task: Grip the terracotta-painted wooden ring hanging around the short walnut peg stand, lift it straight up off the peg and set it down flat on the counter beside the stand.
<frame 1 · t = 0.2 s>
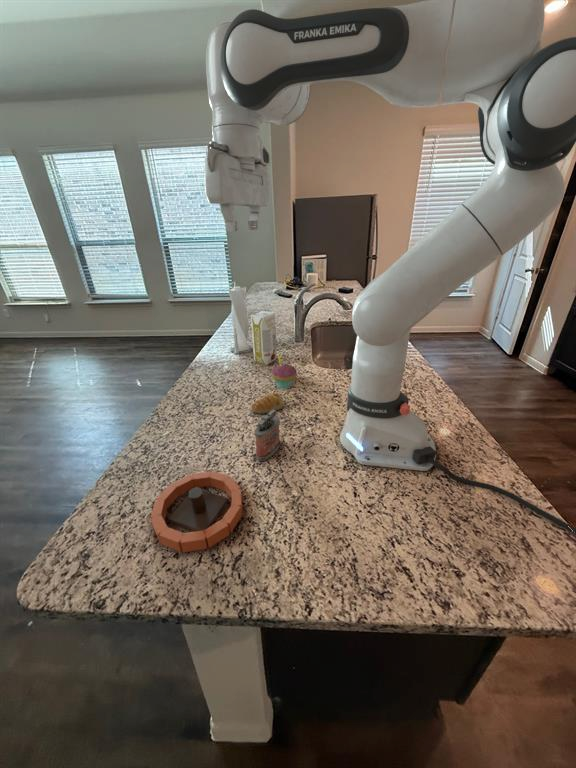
hand: (243, 230, 66), 48 cm above the countertop, tool pointing down, fingers open, 8 cm apart
pastry: (269, 408, 93), on the countertop
ring: (199, 511, 60), on the countertop
skyscraper: (242, 349, 136), on the countertop
cupcake: (284, 385, 106), on the countertop
juice carton: (265, 361, 125), on the countertop
peg stand: (199, 511, 60), on the countertop
lighter: (268, 451, 75), on the countertop
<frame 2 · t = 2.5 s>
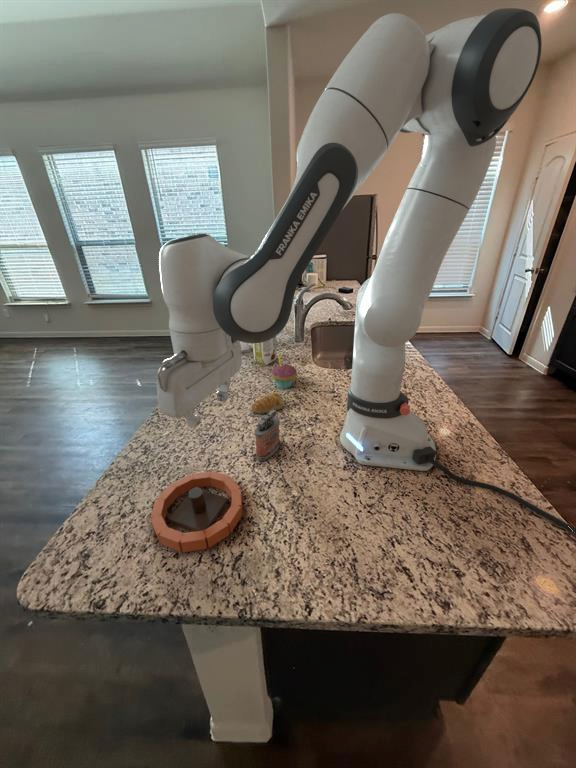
hand: (209, 411, 58), 18 cm above the countertop, tool pointing down, fingers open, 8 cm apart
nothing on the countertop moved.
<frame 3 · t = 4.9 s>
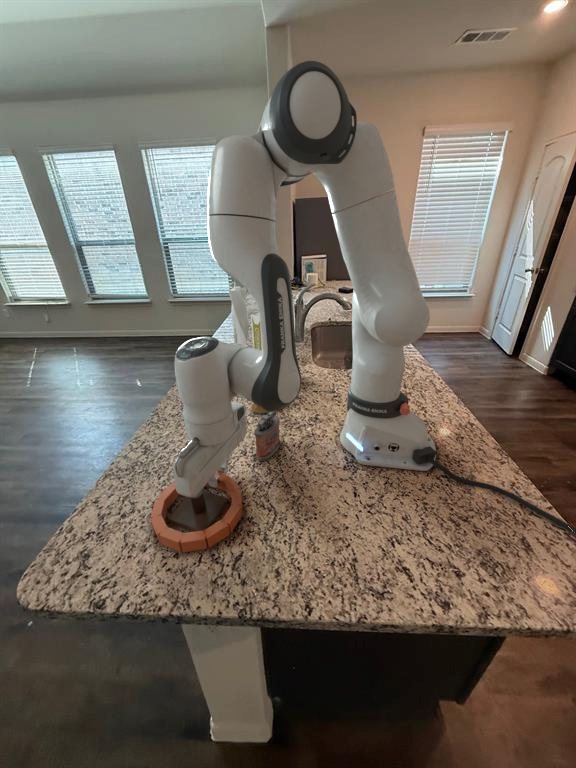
hand: (219, 479, 65), 2 cm above the countertop, tool pointing down, fingers closed on ring, 2 cm apart
ring: (199, 511, 60), on the countertop, touching gripper
everything else where it was.
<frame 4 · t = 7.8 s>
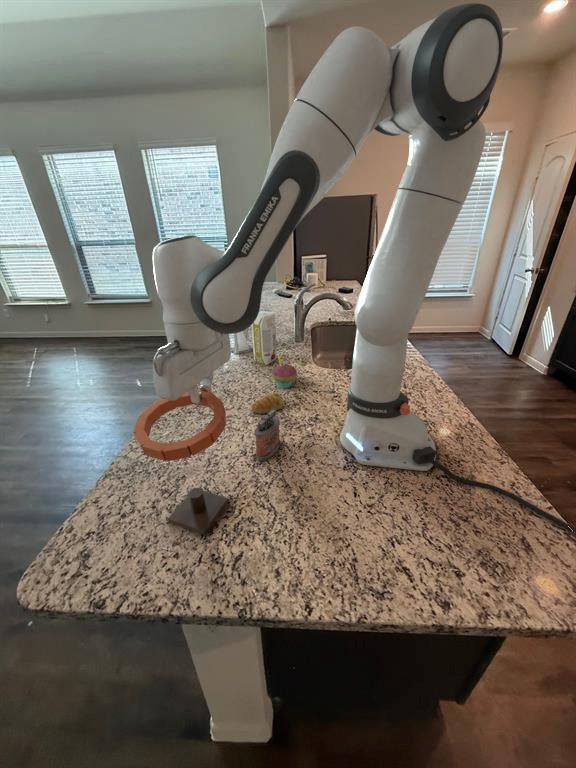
hand: (202, 397, 64), 17 cm above the countertop, tool pointing down, fingers closed on ring
ring: (183, 426, 60), point 14 cm above the countertop, tilted 10°, touching gripper
everything else where it was.
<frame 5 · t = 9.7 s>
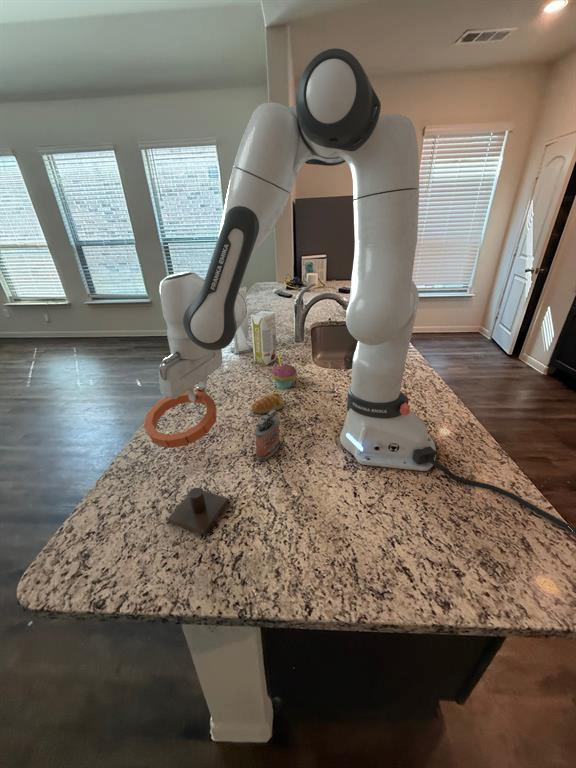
hand: (198, 396, 79), 10 cm above the countertop, tool pointing down, fingers closed on ring
ring: (183, 420, 75), point 7 cm above the countertop, tilted 14°, touching gripper
everything else where it was.
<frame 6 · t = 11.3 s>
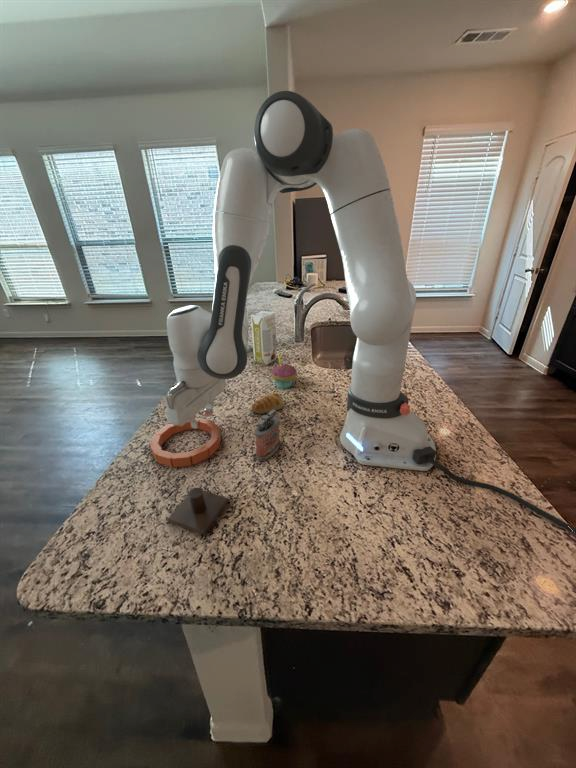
hand: (202, 420, 83), 3 cm above the countertop, tool pointing down, fingers open, 5 cm apart
ring: (187, 444, 78), on the countertop
everything else where it was.
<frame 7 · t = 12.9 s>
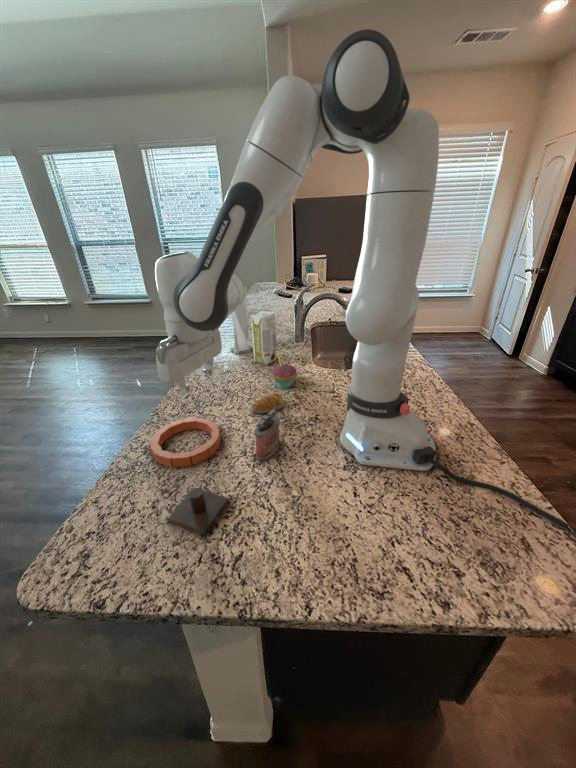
hand: (197, 383, 77), 14 cm above the countertop, tool pointing down, fingers open, 8 cm apart
nothing on the countertop moved.
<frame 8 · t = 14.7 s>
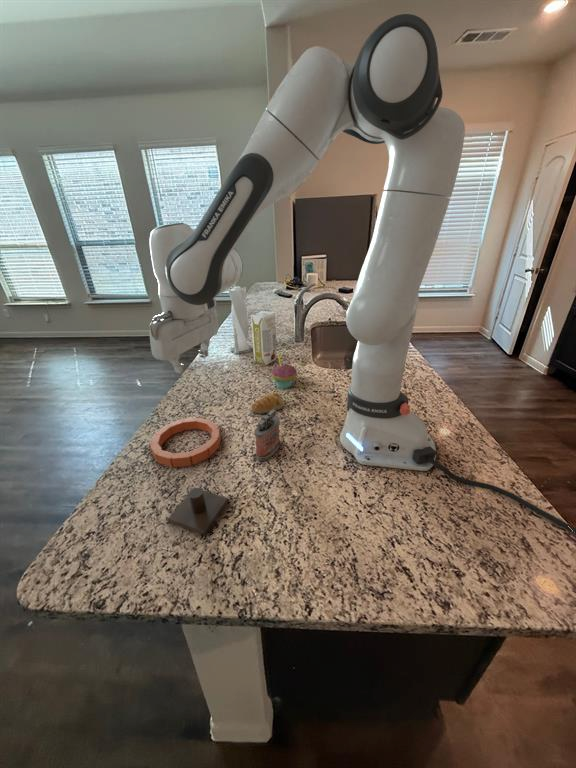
hand: (192, 363, 75), 19 cm above the countertop, tool pointing down, fingers open, 8 cm apart
nothing on the countertop moved.
at the end: ring inside the target area (0.4 cm from its centre), on the countertop; ring touching countertop; the gripper is holding nothing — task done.
